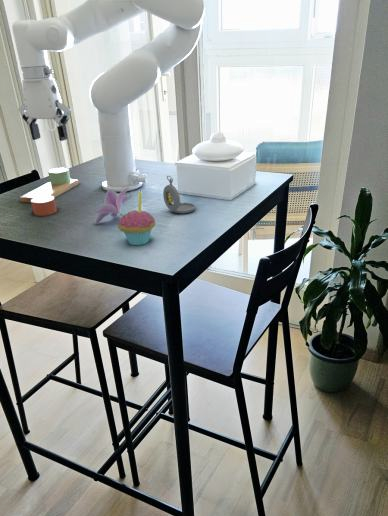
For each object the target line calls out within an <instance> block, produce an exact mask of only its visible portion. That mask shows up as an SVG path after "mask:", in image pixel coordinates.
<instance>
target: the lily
mask: <svg viewBox="0 0 388 516" xmlns="http://www.w3.org/2000/svg"><path fill="white" fill-rule="evenodd" d="M128 188H129V187H127V188H125V189H124V190H123V191H121V192H115V191H113V190H111V189H109V190H108V191H106V192H105V196H104V200H103V202H104V204H103V205H102V206H100V207H99V208H98V209H97V210H95V211H94V214H98V215H97V217H96V220H95V222H94V224H95V225H97V224H98V223H100V222H101V221H102V220H103V219H104V218H106V217H107V216H109V215H110V216H111V217H112V218H115V219H116V218H117V217H118V214H119V215H120V216H121V217H122V216H123V214H122V213H121V209H122V205H123V204H124V203H125V202H127V201H128V200H130V199H131V198H132V195H131V194H126V193H127V192H128V191H127V190H128Z"/></svg>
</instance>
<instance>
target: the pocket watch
mask: <svg viewBox="0 0 388 516" xmlns="http://www.w3.org/2000/svg"><path fill="white" fill-rule="evenodd" d="M166 180H167V181H168V183H169V184H167V185H166V186H164V188H163V192H162V195H163V197H162V198H163V201H164V203H165V205H166V208H168V210H170V211H171V212H173V213H177V214H188V213H189V214H190V213H192V212H193V211H195V210H196V205H195V204H194V203H191V202H181V198H180V193H178V188H176V186H174V185H173V182H174V179H173V177H172V176H171V175H166Z"/></svg>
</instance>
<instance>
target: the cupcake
mask: <svg viewBox="0 0 388 516" xmlns="http://www.w3.org/2000/svg"><path fill="white" fill-rule="evenodd" d="M137 201H138V203H137V204H138V205H137V210H135V209H134V210H130V211H128V212H127V213H125V214H122V216H121V217H119V219H118V230H119V231H120V232H123V233H124V235H125V237H126V239H127V241H128V243H129V245H133V246H142V245H145V244H148V243H149V241H150V236H151V233H152V230H153V229H154V228H155V226H156V219H155V218H154V216H153V215H152V214H151V213H150V212H147V211H145V210H142V188H139V192H138V199H137Z"/></svg>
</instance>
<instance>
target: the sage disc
mask: <svg viewBox="0 0 388 516" xmlns="http://www.w3.org/2000/svg"><path fill="white" fill-rule="evenodd" d="M47 173H48V178H49V182H50V183H51V184H54V185H61V184H66V183H69V182H70V181H71V179H72V178H71V174H70V169H69V168H68V167H55V168H51V169H49V170H48V171H47Z"/></svg>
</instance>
